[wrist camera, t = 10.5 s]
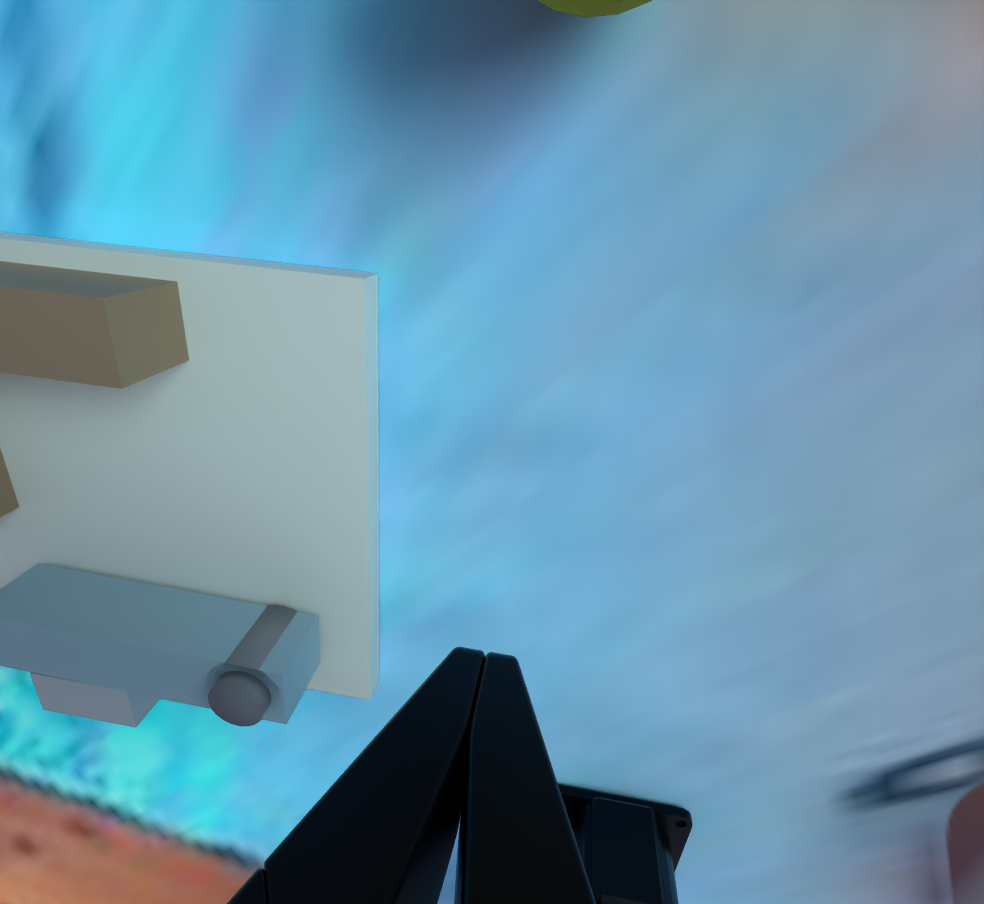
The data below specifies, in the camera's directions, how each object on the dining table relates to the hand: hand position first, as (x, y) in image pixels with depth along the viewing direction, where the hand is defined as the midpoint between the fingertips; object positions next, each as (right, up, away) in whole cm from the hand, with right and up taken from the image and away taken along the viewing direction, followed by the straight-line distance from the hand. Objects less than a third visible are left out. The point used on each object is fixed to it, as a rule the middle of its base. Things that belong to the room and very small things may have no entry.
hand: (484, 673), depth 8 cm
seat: (-13, +2, +14) cm, 19 cm away
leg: (-13, -4, +15) cm, 20 cm away
